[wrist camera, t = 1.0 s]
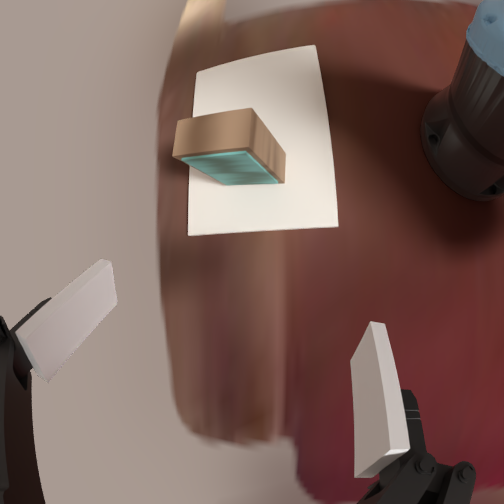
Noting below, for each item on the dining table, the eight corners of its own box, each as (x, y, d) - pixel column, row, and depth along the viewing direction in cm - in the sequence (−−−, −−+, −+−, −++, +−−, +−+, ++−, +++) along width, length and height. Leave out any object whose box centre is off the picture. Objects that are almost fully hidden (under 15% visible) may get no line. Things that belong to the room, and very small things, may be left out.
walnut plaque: (286, 153, 34) (251, 107, 23) (284, 185, 34) (248, 149, 23) (228, 157, 37) (177, 120, 26) (225, 187, 37) (171, 158, 26)
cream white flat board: (199, 74, 41) (196, 72, 40) (315, 48, 34) (314, 44, 33) (191, 235, 39) (188, 235, 39) (338, 227, 32) (337, 226, 32)
